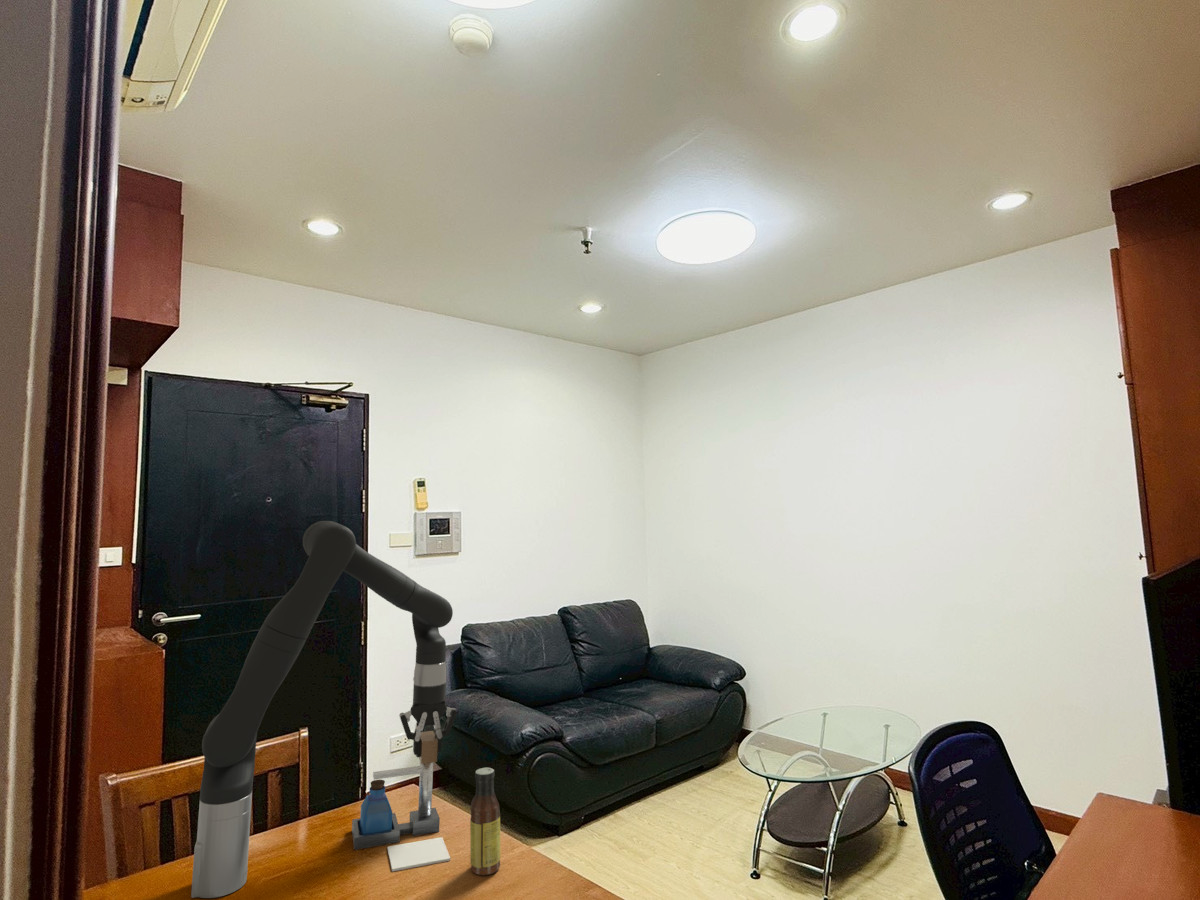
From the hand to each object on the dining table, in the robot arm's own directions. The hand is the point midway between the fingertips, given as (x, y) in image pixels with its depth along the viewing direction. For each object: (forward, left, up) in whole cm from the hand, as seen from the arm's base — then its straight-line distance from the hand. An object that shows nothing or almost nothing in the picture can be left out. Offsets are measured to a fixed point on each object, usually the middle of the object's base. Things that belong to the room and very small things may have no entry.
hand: (427, 754), depth 158 cm
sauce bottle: (+9, -23, -17) cm, 30 cm away
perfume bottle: (-11, 0, -17) cm, 20 cm away
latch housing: (-6, 0, -17) cm, 18 cm away
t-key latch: (-5, 0, -13) cm, 14 cm away
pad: (-3, -12, -17) cm, 21 cm away
